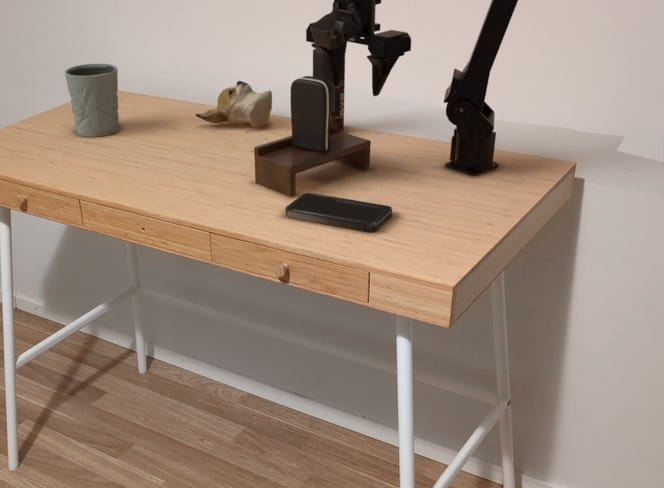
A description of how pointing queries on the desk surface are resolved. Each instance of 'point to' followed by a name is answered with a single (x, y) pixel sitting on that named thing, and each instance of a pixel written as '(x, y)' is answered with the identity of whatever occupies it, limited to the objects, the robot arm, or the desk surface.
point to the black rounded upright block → (312, 112)
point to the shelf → (306, 159)
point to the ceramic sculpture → (240, 106)
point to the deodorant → (323, 72)
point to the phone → (339, 212)
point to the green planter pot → (94, 98)
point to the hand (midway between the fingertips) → (355, 90)
